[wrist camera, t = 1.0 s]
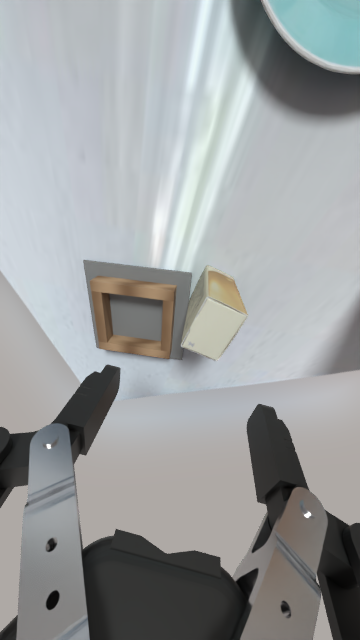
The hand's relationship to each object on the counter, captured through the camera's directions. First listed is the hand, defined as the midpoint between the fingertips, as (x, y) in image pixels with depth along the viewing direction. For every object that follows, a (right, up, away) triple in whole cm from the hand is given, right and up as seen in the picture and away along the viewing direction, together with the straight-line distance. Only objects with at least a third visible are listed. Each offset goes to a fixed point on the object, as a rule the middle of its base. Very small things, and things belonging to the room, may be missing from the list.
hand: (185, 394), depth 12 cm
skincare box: (+4, +9, +18) cm, 21 cm away
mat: (-7, +5, +22) cm, 24 cm away
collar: (-7, +5, +22) cm, 24 cm away
